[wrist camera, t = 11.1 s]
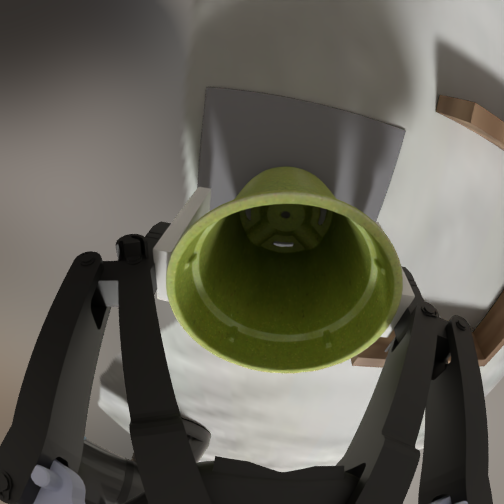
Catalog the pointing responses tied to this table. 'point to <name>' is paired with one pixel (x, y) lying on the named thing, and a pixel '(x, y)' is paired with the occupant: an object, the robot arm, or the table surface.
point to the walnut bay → (500, 315)
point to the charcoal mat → (294, 147)
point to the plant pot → (284, 277)
